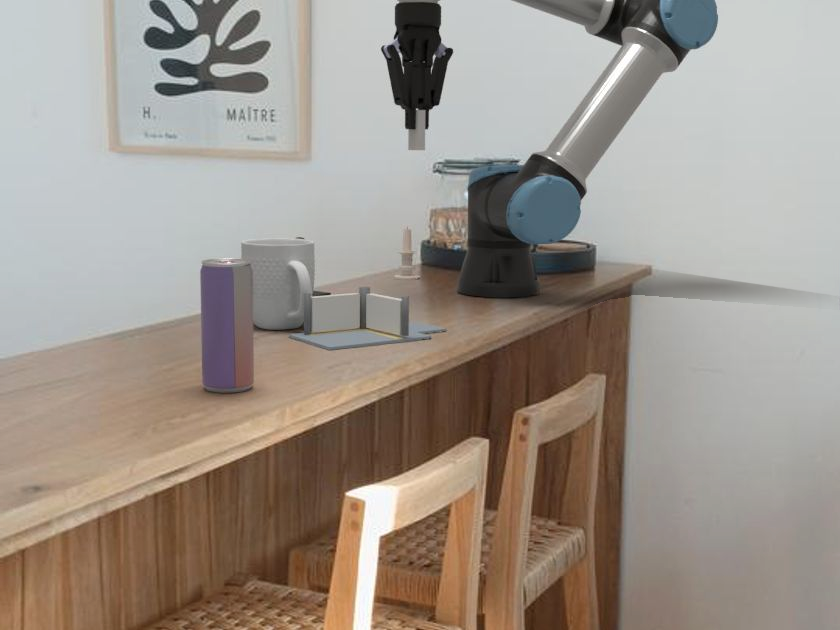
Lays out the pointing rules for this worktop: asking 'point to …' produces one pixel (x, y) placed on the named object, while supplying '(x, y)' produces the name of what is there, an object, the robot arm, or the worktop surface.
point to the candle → (406, 258)
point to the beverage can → (227, 325)
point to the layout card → (364, 336)
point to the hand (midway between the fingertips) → (416, 149)
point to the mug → (280, 280)
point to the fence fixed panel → (335, 311)
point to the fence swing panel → (387, 314)
